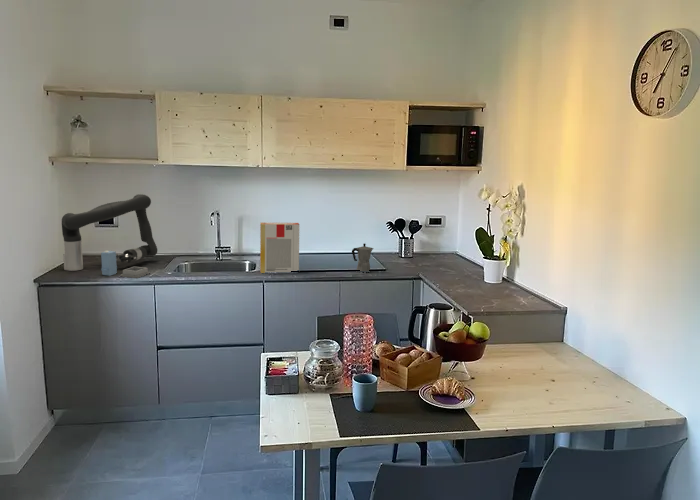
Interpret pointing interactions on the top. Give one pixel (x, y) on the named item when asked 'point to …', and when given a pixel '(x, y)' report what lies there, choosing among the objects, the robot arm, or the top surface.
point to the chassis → (135, 272)
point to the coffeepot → (363, 257)
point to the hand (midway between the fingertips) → (115, 259)
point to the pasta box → (279, 247)
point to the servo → (109, 263)
